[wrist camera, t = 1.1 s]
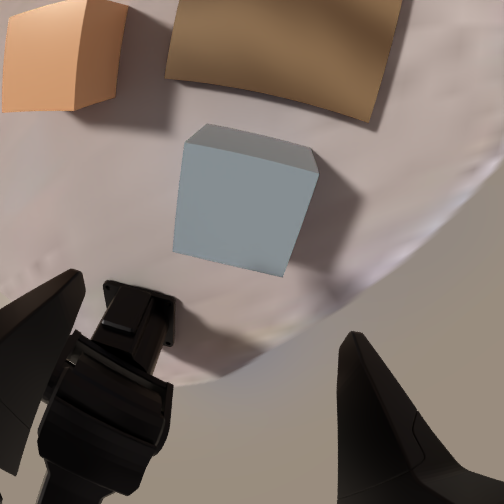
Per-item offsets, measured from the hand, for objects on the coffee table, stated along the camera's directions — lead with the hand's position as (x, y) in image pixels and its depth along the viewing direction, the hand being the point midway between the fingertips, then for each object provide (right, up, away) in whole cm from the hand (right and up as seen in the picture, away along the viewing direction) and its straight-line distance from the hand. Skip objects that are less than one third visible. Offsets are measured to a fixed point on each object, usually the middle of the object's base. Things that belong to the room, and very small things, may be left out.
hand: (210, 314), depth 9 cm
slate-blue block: (+1, +6, +9) cm, 11 cm away
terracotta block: (-9, +14, +4) cm, 18 cm away
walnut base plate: (+3, +15, +2) cm, 15 cm away
